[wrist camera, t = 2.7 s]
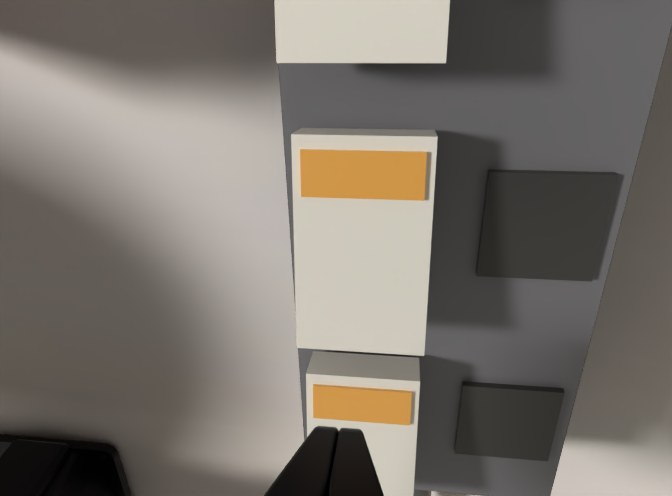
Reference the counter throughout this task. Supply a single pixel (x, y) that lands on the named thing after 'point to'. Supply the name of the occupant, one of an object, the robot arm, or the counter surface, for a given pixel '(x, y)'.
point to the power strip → (505, 214)
